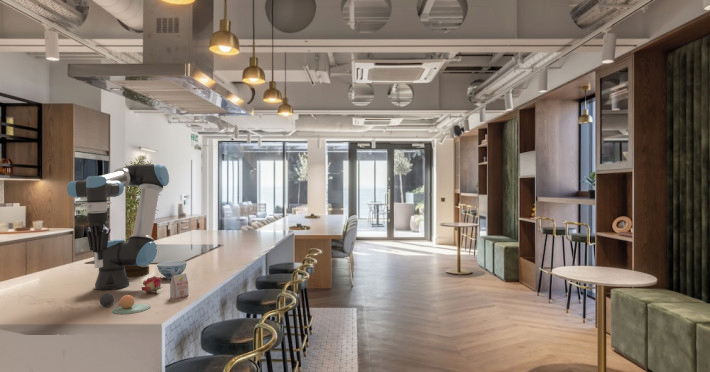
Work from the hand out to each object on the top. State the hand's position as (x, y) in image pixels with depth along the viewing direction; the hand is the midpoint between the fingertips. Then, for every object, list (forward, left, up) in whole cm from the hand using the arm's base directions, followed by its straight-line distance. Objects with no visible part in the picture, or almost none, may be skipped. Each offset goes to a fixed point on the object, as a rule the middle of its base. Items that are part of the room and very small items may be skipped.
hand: (98, 267), depth 196 cm
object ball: (+17, 0, -13) cm, 21 cm away
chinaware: (-12, +52, -16) cm, 56 cm away
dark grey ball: (+6, -1, -13) cm, 14 cm away
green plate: (+19, 0, -16) cm, 25 cm away
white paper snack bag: (+23, +23, -16) cm, 36 cm away
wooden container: (-39, +51, -16) cm, 66 cm away
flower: (+5, +23, -16) cm, 29 cm away
